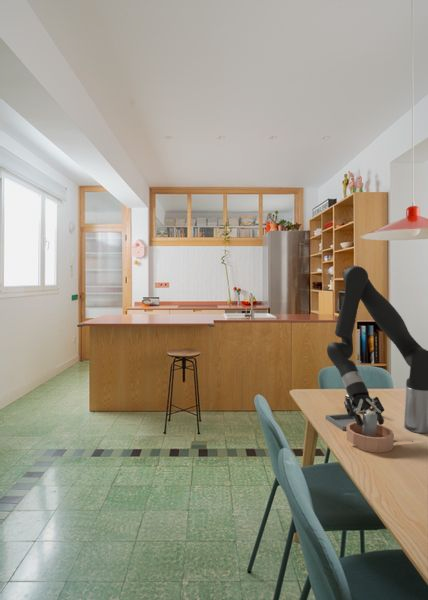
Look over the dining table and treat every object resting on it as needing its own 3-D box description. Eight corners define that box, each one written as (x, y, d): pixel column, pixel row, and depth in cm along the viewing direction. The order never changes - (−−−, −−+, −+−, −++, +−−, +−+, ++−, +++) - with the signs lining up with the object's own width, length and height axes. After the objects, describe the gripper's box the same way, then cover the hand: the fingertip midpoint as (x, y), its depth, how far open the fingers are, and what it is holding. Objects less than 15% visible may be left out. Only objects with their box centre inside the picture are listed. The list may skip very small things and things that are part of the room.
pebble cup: (370, 436, 152) (372, 407, 151) (379, 442, 147) (380, 412, 146) (359, 437, 151) (360, 408, 150) (367, 443, 146) (368, 413, 145)
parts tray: (352, 418, 174) (352, 413, 174) (371, 430, 161) (371, 424, 161) (325, 421, 170) (325, 415, 170) (342, 432, 158) (342, 426, 158)
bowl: (373, 432, 159) (374, 420, 158) (402, 450, 143) (403, 436, 143) (338, 436, 155) (338, 423, 154) (363, 454, 139) (363, 440, 139)
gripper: (342, 381, 153) (359, 421, 143) (375, 380, 157) (393, 419, 146) (334, 391, 159) (350, 430, 148) (366, 389, 162) (383, 427, 152)
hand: (371, 424), depth 147 cm, fingers open, 8 cm apart
